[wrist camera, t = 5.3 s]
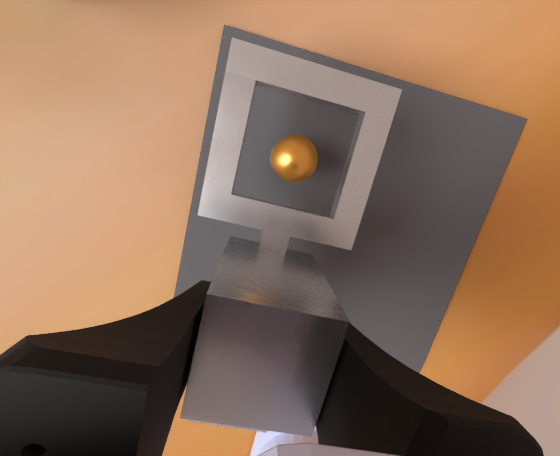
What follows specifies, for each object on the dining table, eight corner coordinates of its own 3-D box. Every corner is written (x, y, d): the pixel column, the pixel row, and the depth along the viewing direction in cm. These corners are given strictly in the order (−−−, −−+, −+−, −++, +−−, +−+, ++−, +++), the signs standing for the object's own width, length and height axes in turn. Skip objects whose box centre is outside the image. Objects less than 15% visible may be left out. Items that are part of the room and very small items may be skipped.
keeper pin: (296, 178, 18) (310, 187, 13) (265, 170, 18) (267, 176, 12) (305, 146, 17) (323, 141, 12) (273, 137, 17) (278, 129, 12)
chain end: (290, 422, 16) (308, 573, 10) (163, 404, 15) (102, 556, 9) (393, 94, 12) (512, 33, 7) (233, 45, 12) (206, -73, 6)
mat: (417, 370, 22) (419, 373, 22) (169, 325, 20) (168, 328, 20) (522, 119, 18) (526, 119, 18) (224, 27, 16) (224, 25, 16)
